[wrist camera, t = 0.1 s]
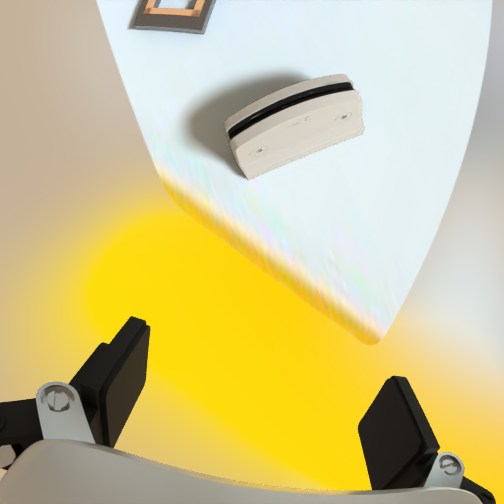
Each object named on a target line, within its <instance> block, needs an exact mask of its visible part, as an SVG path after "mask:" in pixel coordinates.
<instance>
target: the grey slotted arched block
mask: <svg viewBox="0 0 504 504" xmlns="http://www.w3.org/2000/svg"><path fill="white" fill-rule="evenodd" d="M224 127H225V133H226V136H227V139H228V141H229V144H230V147H231V150H232V152H233V154H234V157H235V159H236V162H237V164H238V165H239V167H240V168H241V170H242V171H243V173H244V174H245V176H246V177H247V179H248V180H250V179H253V178H255V177H257V176H260V175H262V174H264V173H267V172H269V171H271V170H274V169H276V168H278V167H281V166H283V165H285V164H288V163H290V162H293V161H295V160H297V159H300V158H302V157H305V156H307V155H310V154H312V153H315V152H317V151H320V150H322V149H325V148H327V147H330V146H332V145H335V144H338V143H340V142H343V141H345V140H348V139H351V138H353V137H356V136H359V135H361V134H363V132H364V124H363V120H362V99H361V96H360V94H359V92H358V91H357V90H354V89H353V82H352V81H351V80H350V79H349V78H348V77H347V76H346V75H345V74H337V75H329V76H323V77H319V78H314V79H310V80H307V81H303V82H300V83H297V84H294V85H291V86H288V87H285V88H283V89H280V90H278V91H276V92H273V93H271V94H269V95H267V96H265V97H263V98H261V99H259V100H257V101H255V102H253V103H251V104H249V105H248V106H246V107H244V108H243V109H241V110H240V111H238V112H236V113H235V114H234V115H232V116H231V117H229V118H228V119H227V120H226V121H225V122H224Z"/></svg>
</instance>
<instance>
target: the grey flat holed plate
mask: <svg viewBox="0 0 504 504" xmlns="http://www.w3.org/2000/svg"><path fill="white" fill-rule="evenodd" d="M160 1H161V0H143V1H142V4H141V6H140V9H139V11H138V14H137V17H136V19H135V22H134V25H133V26H134V27H135V28H136V29H144V30H163V31H177V32H187V33H197V34H204V33H205V30H206V27H207V24H208V21H209V18H210V15H211V13H212V10H213V7H214V4H215V2H216V0H197V1H196V4H195V7H194V9H193V10H189V9H174V8H158V6H159V3H160Z"/></svg>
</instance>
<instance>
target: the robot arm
mask: <svg viewBox="0 0 504 504" xmlns="http://www.w3.org/2000/svg"><path fill="white" fill-rule="evenodd" d="M149 337H150V326H148V325H146V321H145V320H142V319H139V318H136V317H133V316H131V317H130V318H129V319H128V321H127V322H126V323H125V324H124V326H123V327H122V328H121V329H120V331H119V332H118V333H117V335H116V336H115V337H114V338H113V340H112V341H111V342H110V344H107V343H104V342H103V343H101V344H100V345H99V346H98V347H97V348H96V350H95V351H94V352H93V353H92V355H91V356H90V357H89V358H88V360H87V361H86V362H85V363H84V365H83V366H82V367H81V368H80V370H79V371H78V372H77V374H76V375H75V376H74V377H73V379H72V380H71V381H70V383H69V384H67V383H63V382H49V383H46V384H44V385H42V386H41V387H40V388H39V389H38V391H37V393H36V398H34V399H26V400H19V401H11V402H1V403H0V469H1V468H2V469H5V470H7V472H6V473H5V475H4V476H3V478H2V479H1V481H0V504H496V502H495V498H494V496H493V494H492V493H491V492H489V491H488V490H486V489H484V488H483V487H481V486H479V485H478V484H476V483H474V482H473V481H471V480H469V479H468V478H466V477H464V476H463V474H464V465H463V463H462V461H461V460H460V459H459V457H457V456H456V455H455V454H452V453H450V452H443V453H440V454H439V455H438V452H437V451H438V450H439V449H440V446H439V444H438V442H437V439H436V437H435V435H434V433H433V431H432V429H431V427H430V424H429V422H428V420H427V418H426V416H425V414H424V412H423V410H422V408H421V406H420V404H419V402H418V400H417V398H416V396H415V394H414V392H413V390H412V388H411V386H410V384H409V382H408V380H407V378H405V377H400V376H392V377H391V378H390V379H387V380H386V381H385V383H384V385H383V386H382V388H381V390H380V391H379V393H378V395H377V396H376V398H375V400H374V401H373V403H372V404H371V406H370V407H369V409H368V410H367V412H366V413H365V415H364V417H363V418H362V419H361V421H360V423H359V425H358V433H359V437H360V440H361V445H362V449H363V453H364V457H365V461H366V465H367V470H368V474H369V478H370V483H371V487H372V490H368V491H337V490H336V491H335V490H312V489H297V488H287V487H277V486H268V485H262V484H255V483H248V482H241V481H236V480H230V479H225V478H220V477H215V476H210V475H205V474H202V473H197V472H193V471H189V470H185V469H181V468H177V467H173V466H170V465H166V464H163V463H159V462H155V461H152V460H149V459H146V458H143V457H139V456H136V455H133V454H130V453H126V452H123V451H120V450H117V449H114V446H115V444H116V441H117V440H118V437H119V435H120V433H121V431H122V429H123V427H124V425H125V423H126V421H127V419H128V417H129V415H130V413H131V411H132V409H133V407H134V405H135V403H136V401H137V399H138V397H139V395H140V393H141V391H142V389H143V387H144V384H145V381H146V371H147V370H146V369H147V358H148V347H149Z"/></svg>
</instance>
